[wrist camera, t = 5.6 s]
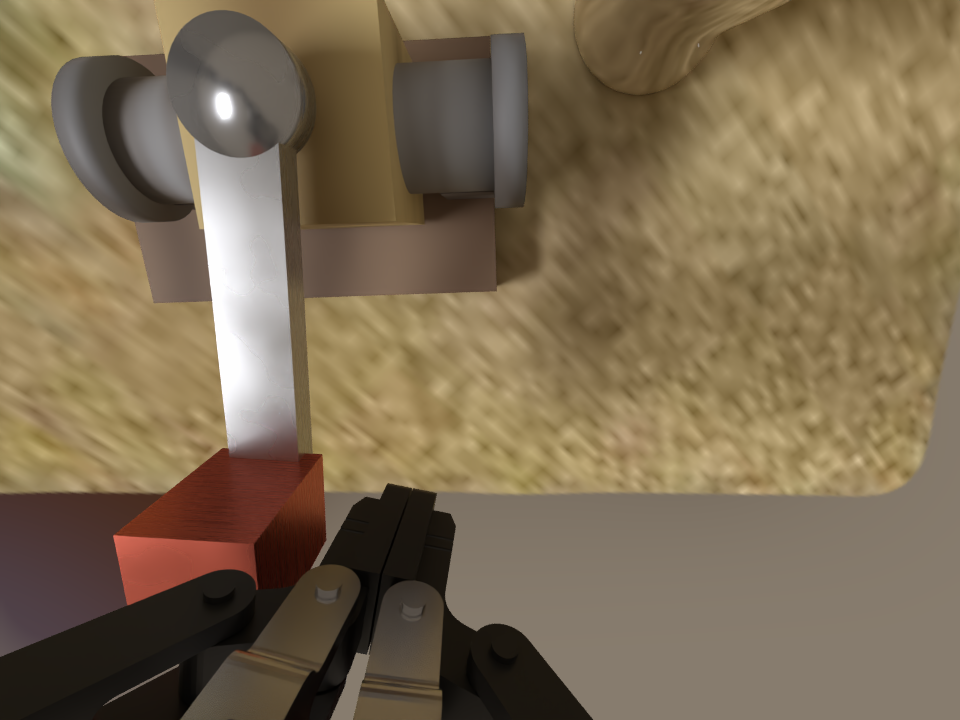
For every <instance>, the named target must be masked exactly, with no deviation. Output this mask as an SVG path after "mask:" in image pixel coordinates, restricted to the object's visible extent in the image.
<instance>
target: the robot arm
mask: <svg viewBox="0 0 960 720" xmlns="http://www.w3.org/2000/svg"><path fill="white" fill-rule="evenodd" d="M436 496H437V493H434V492H429V491H424V490H419V489H415V488H413V490H412V488H409V487H404V486H399V485H394V484H389V483H388V484H387V486H386V488H385V490H384V492H383V494H382V496H381V498H380V500H379V499H374V498H370V497H365V498H364V499H362V500H361V501H359V502H358V503H356V504H355V505H353V507H352V508H351V510H350V512H349V514H348V516H347V517H346V520H345V521H344V523H343V524H342V526H341V529H340V530H339V532H338V533H337V535H336V537H335V539H334V541H333V542H332V544H331V546H330V548H329V550H328V551H327V553H326V555H325V557H324V559H323V560H322V562H321V564H320V566H318V567H315V568H313V569H311V570H309V571H308V572H306V573H305V574H304V575H303V576H302V577H301V578H300V579H299V581H298V582H297V583H296V585H293V586H289V587H285V588H276V589H261V590H256V583H255V581H254V579H253V578H252V577H251V575H249V574H248V573H246V572H243V571H240V570H235V569H223V570H217V571H213V572H210V573H207V574H205V575H202V576H200V577H197V578H195V579H192V580H190V581H187V582H185V583H182V584H180V585H177V586H175V587H172V588H170V589H167V590H165V591H162V592H160V593H157V594H155V595H153V596H150V597H148V598H145V599H143V600H140V601H138V602H135V603H133V604H130V605H128V606H125V607H123V608H120V609H118V610H116V611H113V612H110V613H108V614H106V615H103V616H101V617H98V618H96V619H93V620H91V621H88V622H86V623H84V624H81V625H79V626H76V627H73V628H71V629H68V630H66V631H64V632H61V633H58V634H56V635H53V636H51V637H49V638H46V639H44V640H41V641H39V642H36V643H34V644H31V645H29V646H26V647H24V648H21V649H19V650H16V651H14V652H12V653H9V654H7V655H4V656H2V657H0V720H330V719H331V717H332V715H333V712H334V710H335V708H336V705H337V703H338V701H339V698H340V696H341V694H342V692H343V689H344V687H345V684H346V678H347V674H348V673H349V670H350V668H351V666H352V663H353V660H354V657H355V654H356V653H361V654H367V652H368V649H369V646H370V652H369V655H370V656H369V661H368V665H367V669H366V673H365V678H364V680H363V681H362V684H361V688H360V692H359V696H358V701H357V705H356V709H355V713H354V718H353V720H593V719H592V718H591V717H590V715H589V714H588V713H587V712H586V710H585V709H584V708H583V707H582V706H581V704H580V703H579V702H578V701H577V699H576V698H575V697H574V696H573V694H572V693H571V692H570V691H569V690H568V688H567V687H566V686H565V685H564V683H563V682H562V681H561V679H560V678H559V677H558V676H557V675H556V673H555V672H554V671H553V670H552V668H551V667H550V666H549V665H548V664H547V662H546V661H545V660H544V658H543V657H542V656H541V655H540V654H539V652H538V651H537V650H536V649H535V647H534V646H533V645H532V644H531V642H530V641H529V640H528V639H527V638H526V637H525V636H524V635H523V634H522V633H521V632H520V631H518V630H516V629H515V628H513V627H510V626H508V625H504V624H490V625H486V626H484V627H482V628H480V629H479V630H478V631H475V630H473V629H471V628H469V627H467V626H466V625H464V624H462V623H461V622H460V621H458V620H457V619H456V618H455V617H454V616H453V615H452V614H451V612H450V611H449V609H448V607H447V605H446V601H445V591H446V584H447V578H448V572H449V565H450V559H451V553H452V547H453V540H454V533H455V528H456V526H455V523H454V521H453V519H452V516H451V514H449V513H444V512H439V511H434V506H435V501H436ZM370 643H371V645H370ZM177 664H179V666H178V667H177V668H175V669H173V670H171V671H169V672H167V673H165V674H164V675H161V676H159V677H157V678H156V679H154V680H152V681H150V682H148V683H146V684H144V685H142V686H140V687H138V688H136V689H135V690H133V691H131V692H129V693H127V694H125V695H123V696H121V697H119V698H118V699H116V700H114V701H112V702H110V703H108V704H106V705H104V704H105V703H107V702H108V701H109V700H111V699H112V698H114V697H116V696H117V695H119V694H121V693H123V692H125V691H127V690H129V689H131V688H133V687H135V686H137V685H139V684H140V683H142V682H144V681H146V680H148V679H150V678H152V677H154V676H155V675H158V674H160V673H162V672H163V671H165V670H167V669H169V668H171V667H173V666H175V665H177ZM103 705H104V706H103Z"/></svg>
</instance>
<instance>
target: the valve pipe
mask: <svg viewBox="0 0 960 720" xmlns="http://www.w3.org/2000/svg"><path fill="white" fill-rule="evenodd" d="M154 5H155V10H156V15H157V19H158V24H159V29H160V34H161V39H162V44H163V49H164V54H155V55H137V56H119V55H110V56H92V57H79V58H75V59H72V60H70V61H69V62H67V63H66V64H65V65H64V66H62V67H61V69H60V70H59V72H58V73H57V75H56V78H55V81H54V83H53V89H52V99H51V106H52V116H53V121H54V126H55V130H56V133H57V136H58V139H59V142H60V145H61V147H62V149H63V152H64V154H65V156H66V158H67V160H68V162H69V164H70V166H71V167H72V169H73V170H74V172H75V174H76V175H77V177H78V178H79V180H80V181H81V182H82V183H83V185H84V186H85V187H86V189H87V190H88V191H89V192H90V193H91V194H92V195H93V196H94V197H95V198H96V199H97V200H98V201H99V202H100V203H101V204H102V205H103V206H105V207H106V208H107V209H109V210H110V211H112V212H113V213H115V214H117V215H118V216H120V217H122V218H125V219H127V220H130V221H134V222H135V225H136V229H137V234H138V238H139V242H140V246H141V250H142V255H143V259H144V263H145V267H146V271H147V276H148V280H149V284H150V288H151V292H152V297H153V301H154V303H170V302H198V301H212V294H211V285H210V276H209V267H208V258H207V249H206V240H205V231H204V222H203V213H202V204H201V195H200V186H199V176H198V167H197V158H196V149H195V140H194V137H193V136H192V135H191V134H190V133H189V132H188V131H187V130H186V128H185V127H184V126H183V124H182V123H181V121H180V120H179V118H178V116H177V114H176V112H175V110H174V108H173V106H172V103H171V100H170V97H169V93H168V88H167V80H166V66H167V59H168V54H169V51H170V48H171V45H172V43H173V41H174V39H175V37H176V35H177V34H178V32H179V31H180V30H181V29H182V28H183V26H184V25H185V24H186V23H188V22H189V21H190V20H191V19H193V18H195V17H196V16H198V15H200V14H203V13H206V12H209V11H214V10H229V11H235V12H239V13H242V14H245V15H247V16H249V17H251V18H253V19H255V20H256V21H258V22H260V23H261V24H262V25H263V26H265V27H266V28H267V29H268V30H269V31H271V32H272V33H273V34H274V35H275V36H276V37H277V38H278V39H279V40H280V41H282V42H283V43H284V44H285V45H286V46H287V47H288V48H289V49H290V50H291V51H292V52H293V53H294V54H295V55H296V56H297V57H298V58H299V59H300V61H301V62H302V63H303V65H304V67H305V68H306V70H307V72H308V74H309V76H310V78H311V81H312V84H313V87H314V91H315V96H316V119H315V124H314V128H313V131H312V133H311V136H310V138H309V139H308V141H307V143H306V144H305V146H304V147H303V148H302V149H301V150H300V151H299V152H298V153H297V154H296V155H297V174H298V193H299V211H300V230H301V248H302V267H303V285H304V298H313V297H341V296H370V295H399V294H427V293H456V292H485V291H497V285H496V249H495V213H494V199H495V208H512V207H523V206H524V202H525V194H526V181H527V158H528V78H527V56H526V43H525V36H524V33H511V34H493V35H490V36H483V37H465V38H447V39H429V40H410V41H403V40H402V38H401V36H400V34H399V32H398V30H397V28H396V25H395V23H394V21H393V19H392V17H391V15H390V12H389V10H388V8H387V6H386V4H385V2H384V0H154ZM490 42H491V58H490Z"/></svg>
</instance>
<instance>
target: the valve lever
mask: <svg viewBox="0 0 960 720" xmlns="http://www.w3.org/2000/svg"><path fill="white" fill-rule="evenodd" d="M166 80H167V88H168V93H169V97H170V100H171V103H172V106H173V108H174V110H175V112H176V114H177V116H178V118H179V120H180V121H181V123H182V124H183V126H184V127H185V128H186V130H187V131H188V132H189V133H190V134H191V135H192V136H193V137H194V140H195V149H196V158H197V167H198V176H199V186H200V195H201V204H202V213H203V222H204V231H205V240H206V249H207V258H208V267H209V276H210V285H211V294H212V303H213V312H214V321H215V330H216V339H217V348H218V357H219V366H220V375H221V384H222V393H223V402H224V411H225V420H226V429H227V438H228V447H229V449H227V448H222V449H221V450H220V451H218V452H217V453H216V454H215V455H213V456H212V457H211V458H210V459H208V460H207V461H206V462H205V463H203V464H202V465H201V466H200V467H198V468H197V469H196V470H195V471H193V472H192V473H191V474H190V475H188V476H187V477H186V478H185V479H183V480H182V481H181V482H180V483H178V484H177V485H176V486H175V487H173V488H172V489H171V490H170V491H168V492H167V493H166V494H165V495H163V496H162V497H161V498H160V499H159V500H157V501H156V502H155V503H153V504H152V505H151V506H150V507H148V508H147V509H146V510H145V511H143V512H142V513H141V514H140V515H138V516H137V517H136V518H135V519H133V520H132V521H131V522H130V523H128V524H127V525H126V526H125V527H123V528H122V529H121V530H120V531H118V532H117V533H116V534H115V535H114V541H115V545H116V551H117V555H118V561H119V566H120V571H121V576H122V581H123V586H124V591H125V595H126V600H127V605H130V604H133V603H135V602H138V601H140V600H143V599H145V598H148V597H150V596H153V595H155V594H157V593H160V592H162V591H165V590H167V589H170V588H172V587H175V586H177V585H180V584H182V583H185V582H187V581H190V580H192V579H195V578H197V577H200V576H202V575H205V574H207V573H210V572H213V571H217V570H223V569H235V570H240V571H243V572H246V573H248V574H249V575H251V577H252V578H253V579H254V581H255V583H256V590H261V589H276V588H285V587H289V586H293V585H296V583H297V582H298V581H299V579H300V578H301V577H302V576H303V575H304V574H305V573H306V572H308V571H309V570H310V569H311V567H312V566H313V564H314V562H315V560H316V558H317V556H318V555H319V553H320V551H321V549H322V547H323V545H324V543H325V542H326V521H325V502H324V501H325V500H324V479H323V458H322V454H313V452H312V434H311V415H310V397H309V378H308V360H307V341H306V322H305V304H304V285H303V267H302V248H301V230H300V211H299V193H298V174H297V155H296V154H297V153H298V152H299V151H300V150H301V149H302V148H303V147H304V146H305V144H306V143H307V141H308V139H309V138H310V136H311V133H312V131H313V128H314V124H315V119H316V96H315V91H314V87H313V84H312V81H311V78H310V76H309V74H308V72H307V70H306V68H305V67H304V65H303V63H302V62H301V61H300V59H299V58H298V57H297V56H296V55H295V54H294V53H293V52H292V51H291V50H290V49H289V48H288V47H287V46H286V45H285V44H284V43H283V42H282V41H280V40H279V39H278V38H277V37H276V36H275V35H274V34H273V33H272V32H271V31H269V30H268V29H267V28H266V27H265V26H263V25H262V24H261V23H260V22H258V21H256V20H255V19H253V18H251V17H249V16H247V15H245V14H242V13H239V12H235V11H229V10H214V11H209V12H206V13H203V14H200V15H198V16H196V17H195V18H193V19H191V20H190V21H189V22H188V23H186V24H185V25H184V26H183V28H182V29H181V30H180V31H179V32H178V34H177V35H176V37H175V39H174V41H173V43H172V45H171V48H170V51H169V54H168V59H167V66H166Z"/></svg>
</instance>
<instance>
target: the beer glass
mask: <svg viewBox="0 0 960 720" xmlns="http://www.w3.org/2000/svg"><path fill="white" fill-rule="evenodd" d="M789 1H791V0H575V6H574V32H575V38H576V43H577V46H578V49H579V52H580V54H581V57H582V59H583V61H584V63H585V64H586V66H587V67H588V69H589V70H590V71H591V73H592V74H593V75H594V76H595V77H596V78H597V79H598V80H599V81H600V82H602V83H603V84H605V85H606V86H608V87H609V88H611V89H613V90H616V91H618V92H622V93H626V94H632V95H644V94H651V93H655V92H659V91H662V90H664V89H667V88H669V87H671V86H673V85H674V84H676V83H677V82H679V81H680V80H682V79H683V78H684V77H685V76H686V75H688V74H689V73H690V72H691V71H692V70H693V69H694V68H695V67H696V66H697V64H698V63H699V62H700V61H701V60H702V59H703V57H704V56H705V55H706V53H707V52H708V50H709V49H710V47H711V46H712V44H713V43H714V41H715V40H716V38H717V37H718V35H719V34H721V33H723V32H725V31H727V30H729V29H731V28H733V27H736V26H738V25H740V24H742V23H745V22H747V21H749V20H751V19H753V18H756V17H758V16H760V15H762V14H764V13H766V12H768V11H771V10H773V9H775V8H777V7H779V6H781V5H783V4H785V3H787V2H789Z"/></svg>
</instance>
